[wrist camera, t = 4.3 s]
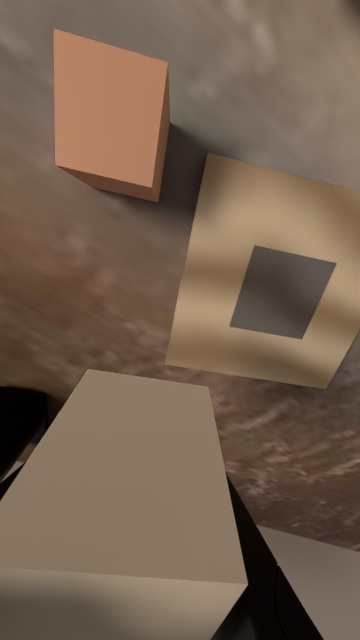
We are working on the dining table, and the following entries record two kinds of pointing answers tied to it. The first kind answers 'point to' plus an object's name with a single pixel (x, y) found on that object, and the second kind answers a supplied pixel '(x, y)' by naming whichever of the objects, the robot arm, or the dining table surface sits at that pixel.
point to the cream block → (121, 519)
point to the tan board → (268, 276)
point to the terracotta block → (110, 116)
